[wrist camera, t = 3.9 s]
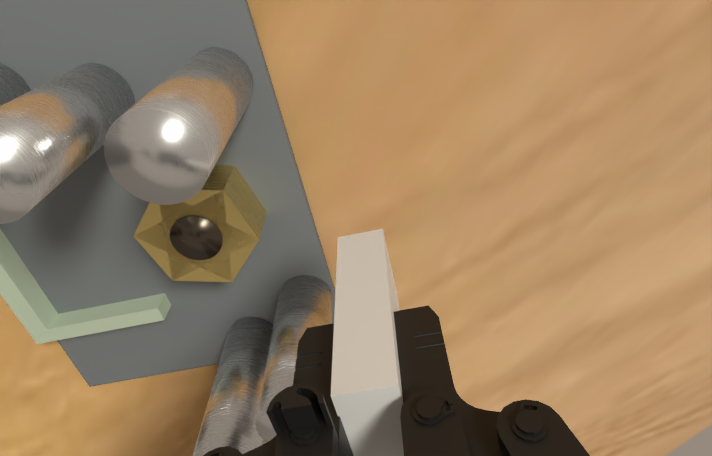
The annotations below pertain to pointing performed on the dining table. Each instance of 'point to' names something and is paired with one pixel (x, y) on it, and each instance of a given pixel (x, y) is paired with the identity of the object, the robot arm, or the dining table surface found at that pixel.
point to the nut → (205, 229)
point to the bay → (34, 310)
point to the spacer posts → (161, 199)
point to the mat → (124, 211)
